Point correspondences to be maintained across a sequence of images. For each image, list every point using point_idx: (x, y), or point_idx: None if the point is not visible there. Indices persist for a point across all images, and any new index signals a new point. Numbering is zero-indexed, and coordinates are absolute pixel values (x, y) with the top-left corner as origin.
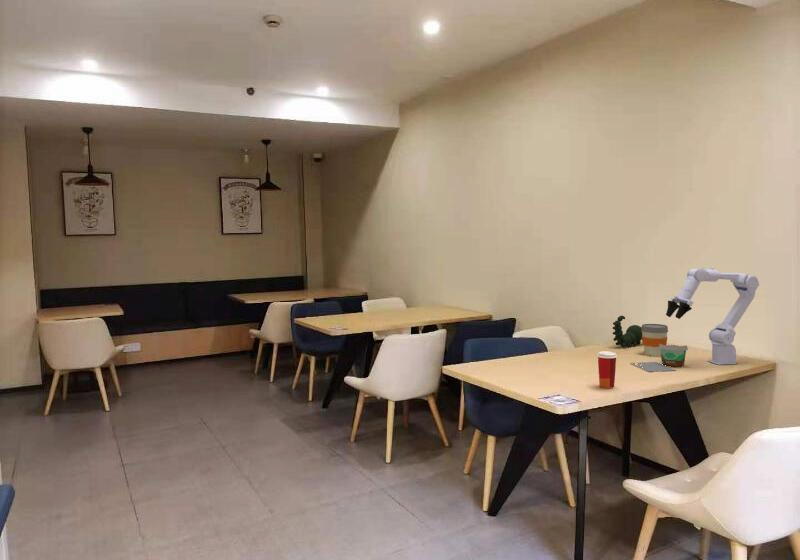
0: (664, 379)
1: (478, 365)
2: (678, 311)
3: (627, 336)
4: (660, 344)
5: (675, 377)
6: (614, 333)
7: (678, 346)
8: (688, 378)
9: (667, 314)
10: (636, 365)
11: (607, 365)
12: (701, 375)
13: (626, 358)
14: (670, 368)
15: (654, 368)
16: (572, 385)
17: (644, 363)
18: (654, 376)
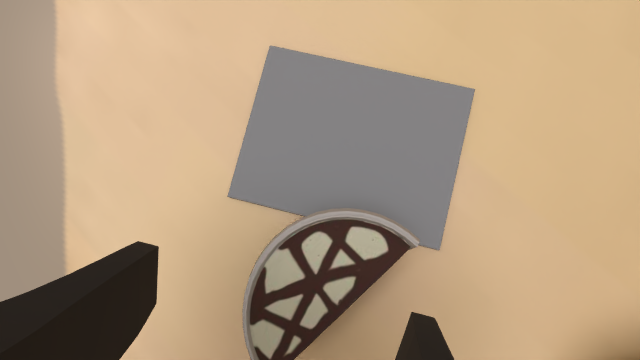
0: (128, 18)
1: None
2: (57, 281)
3: None
4: (391, 226)
5: (131, 91)
6: None
7: (253, 277)
8: (88, 133)
9: (409, 331)
10: (406, 81)
11: None
12: (99, 241)
13: (604, 168)
14: (270, 200)
15: (307, 120)
16: None
17: (429, 156)
18: (191, 15)
